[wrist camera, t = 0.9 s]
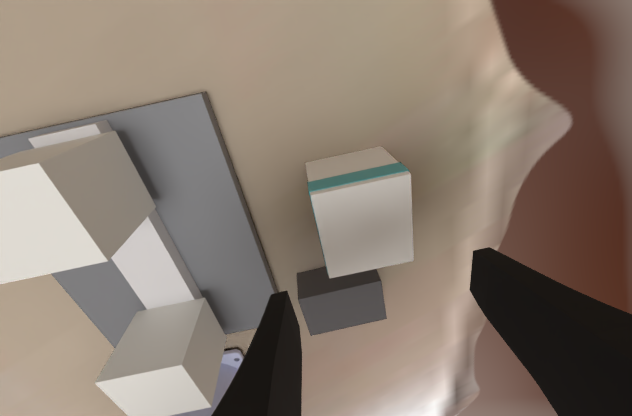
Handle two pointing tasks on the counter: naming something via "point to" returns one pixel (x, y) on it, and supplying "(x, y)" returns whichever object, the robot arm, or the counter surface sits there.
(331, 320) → the box
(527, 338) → the robot arm
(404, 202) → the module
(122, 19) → the counter surface
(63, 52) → the counter surface
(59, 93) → the counter surface
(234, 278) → the mounting plate
